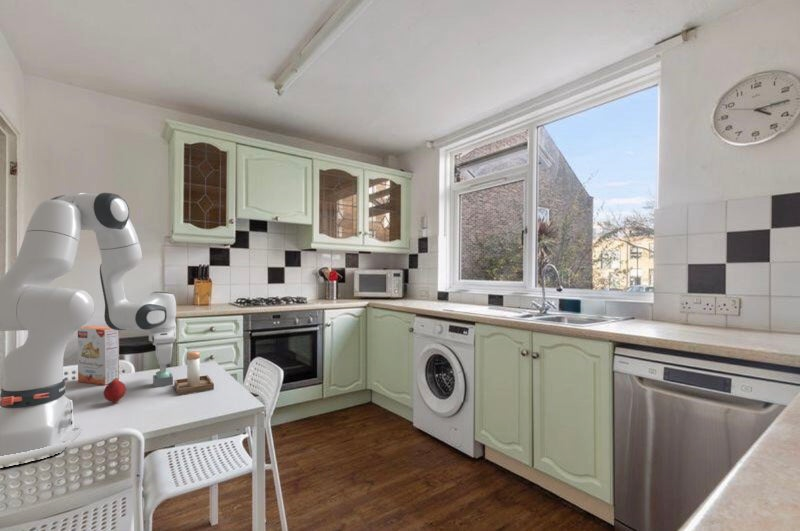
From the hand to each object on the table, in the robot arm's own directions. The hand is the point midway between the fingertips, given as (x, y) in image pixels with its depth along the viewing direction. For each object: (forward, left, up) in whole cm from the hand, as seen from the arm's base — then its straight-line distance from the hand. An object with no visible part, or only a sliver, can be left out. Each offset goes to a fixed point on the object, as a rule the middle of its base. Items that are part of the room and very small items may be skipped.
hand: (162, 371), depth 144 cm
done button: (0, 0, -4) cm, 4 cm away
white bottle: (-11, -9, -4) cm, 15 cm away
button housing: (0, 0, -5) cm, 5 cm away
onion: (-14, +14, -5) cm, 20 cm away
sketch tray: (-11, -9, -5) cm, 15 cm away
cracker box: (+17, +20, -5) cm, 27 cm away
